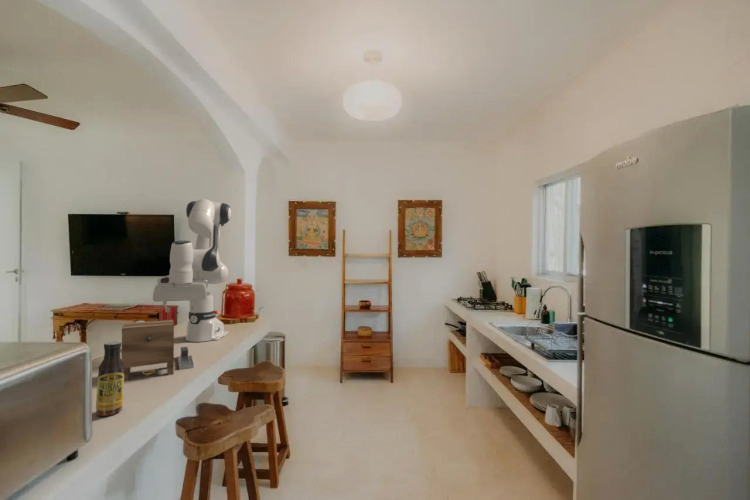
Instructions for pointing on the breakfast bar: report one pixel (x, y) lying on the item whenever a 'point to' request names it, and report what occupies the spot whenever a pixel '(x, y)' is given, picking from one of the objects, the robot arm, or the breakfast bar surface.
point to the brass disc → (148, 372)
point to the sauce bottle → (110, 381)
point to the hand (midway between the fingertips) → (180, 311)
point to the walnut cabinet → (148, 345)
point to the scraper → (185, 359)
